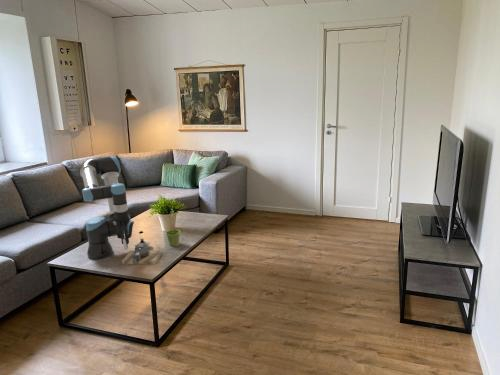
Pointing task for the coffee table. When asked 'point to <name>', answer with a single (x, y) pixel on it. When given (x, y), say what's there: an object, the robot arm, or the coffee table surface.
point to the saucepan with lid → (140, 252)
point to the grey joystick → (142, 241)
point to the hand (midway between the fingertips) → (126, 248)
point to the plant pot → (173, 237)
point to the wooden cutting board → (149, 259)
